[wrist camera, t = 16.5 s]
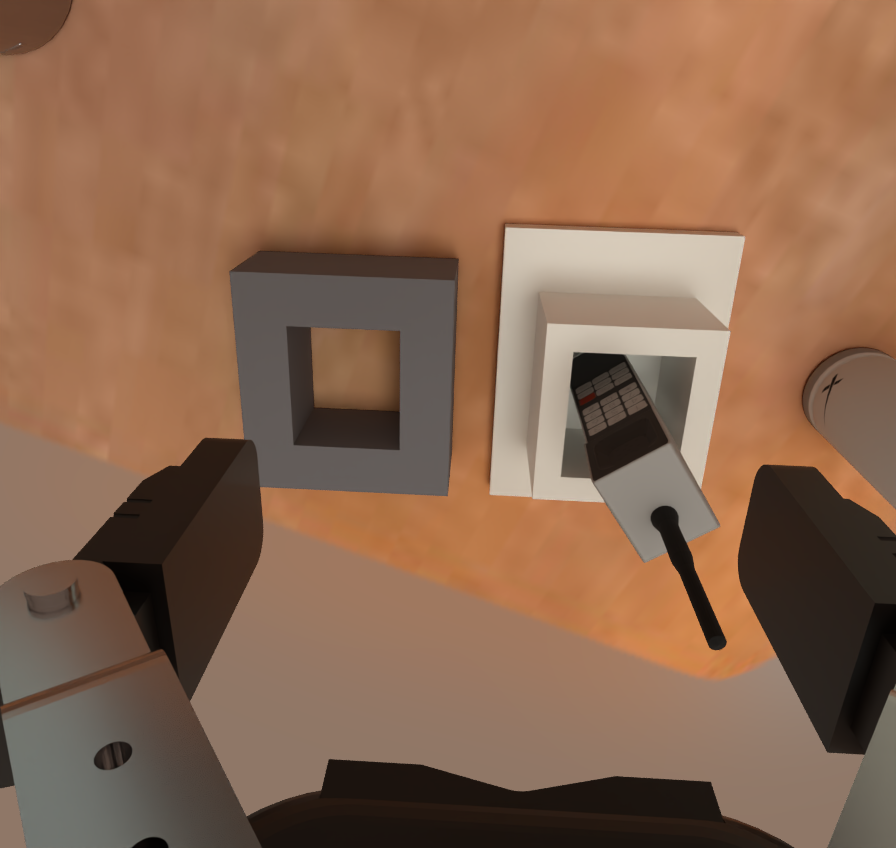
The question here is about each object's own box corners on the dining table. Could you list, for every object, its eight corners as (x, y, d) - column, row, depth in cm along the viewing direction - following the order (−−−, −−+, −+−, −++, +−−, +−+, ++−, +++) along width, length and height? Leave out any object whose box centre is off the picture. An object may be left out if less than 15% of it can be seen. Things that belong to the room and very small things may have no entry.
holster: (259, 250, 47) (229, 271, 41) (458, 258, 46) (454, 280, 41) (273, 445, 52) (248, 486, 47) (451, 453, 52) (447, 496, 46)
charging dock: (505, 223, 45) (508, 249, 38) (737, 232, 45) (789, 260, 37) (489, 484, 53) (490, 551, 45) (689, 494, 52) (725, 563, 44)
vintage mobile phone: (610, 327, 46) (731, 554, 23) (647, 391, 48) (795, 662, 25) (557, 358, 47) (624, 605, 24) (595, 420, 49) (692, 706, 26)
